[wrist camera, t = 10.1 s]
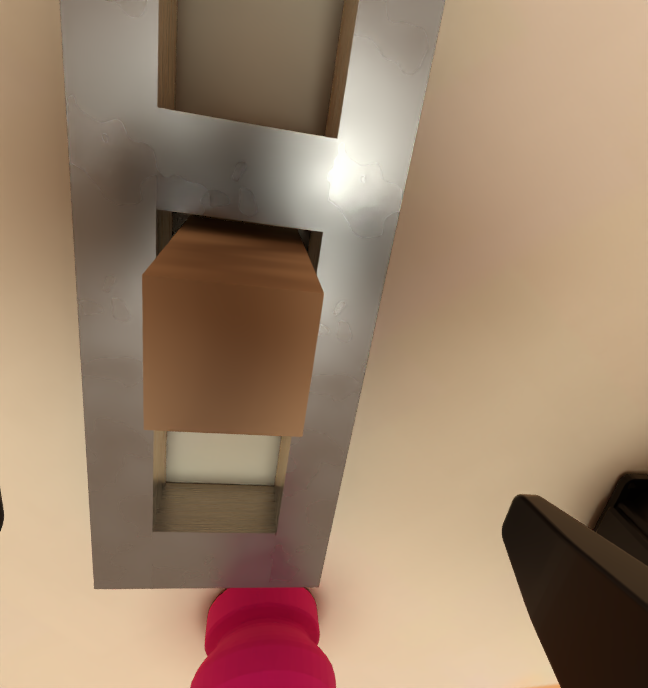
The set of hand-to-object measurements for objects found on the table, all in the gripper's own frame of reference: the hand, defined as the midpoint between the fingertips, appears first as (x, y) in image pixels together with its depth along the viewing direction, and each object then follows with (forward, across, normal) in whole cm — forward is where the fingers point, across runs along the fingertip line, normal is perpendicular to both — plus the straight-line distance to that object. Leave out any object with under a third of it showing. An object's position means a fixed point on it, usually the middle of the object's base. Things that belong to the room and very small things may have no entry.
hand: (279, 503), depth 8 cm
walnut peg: (+12, +1, -1) cm, 12 cm away
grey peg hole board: (+12, +1, -1) cm, 12 cm away
